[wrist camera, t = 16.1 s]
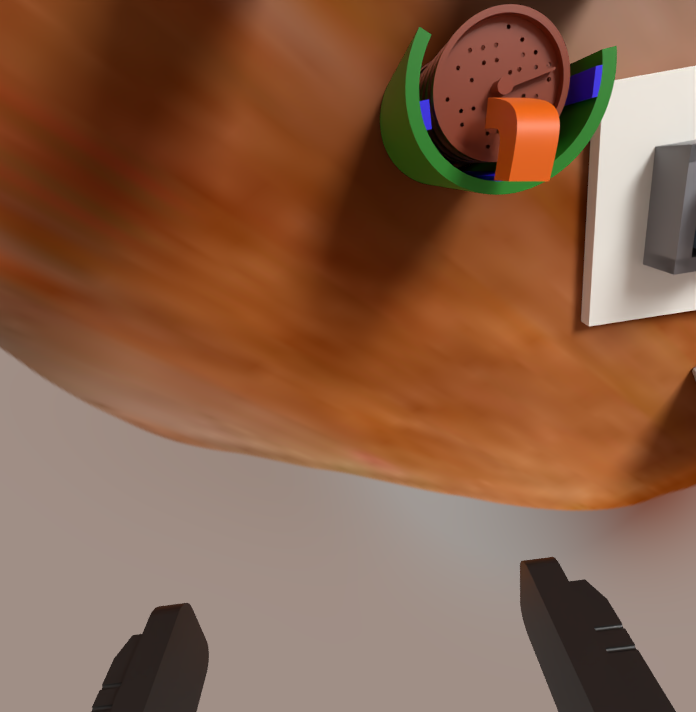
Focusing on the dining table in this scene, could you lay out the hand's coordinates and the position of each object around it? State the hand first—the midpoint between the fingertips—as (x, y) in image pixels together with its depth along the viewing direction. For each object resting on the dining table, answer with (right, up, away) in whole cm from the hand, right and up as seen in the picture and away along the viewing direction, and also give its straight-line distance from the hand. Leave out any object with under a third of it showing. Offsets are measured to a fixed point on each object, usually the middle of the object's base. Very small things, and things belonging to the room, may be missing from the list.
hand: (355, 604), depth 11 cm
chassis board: (+29, +20, +28) cm, 45 cm away
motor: (+8, +25, +26) cm, 36 cm away
